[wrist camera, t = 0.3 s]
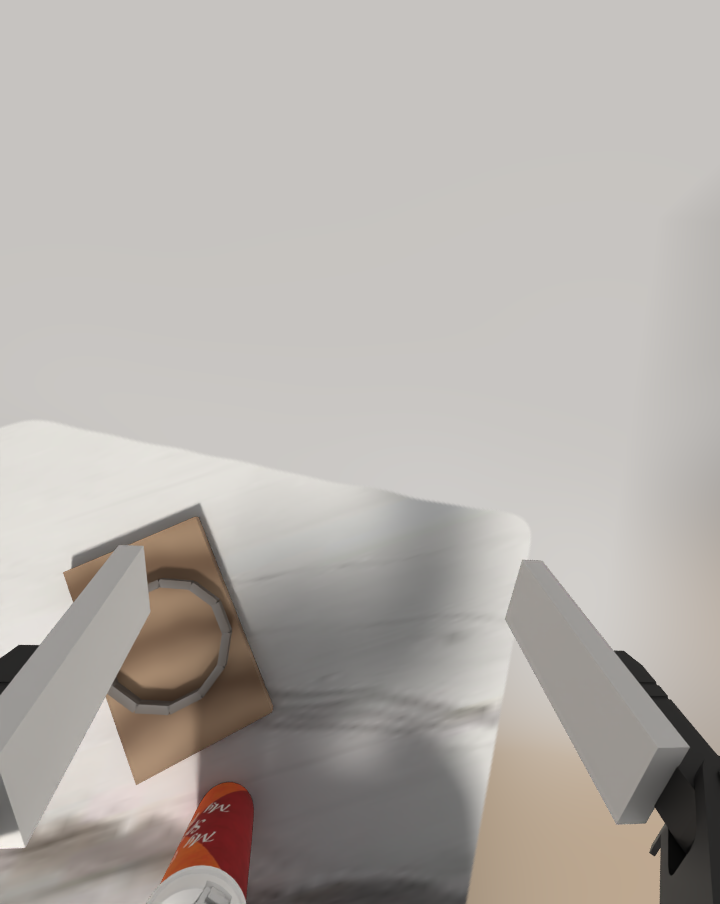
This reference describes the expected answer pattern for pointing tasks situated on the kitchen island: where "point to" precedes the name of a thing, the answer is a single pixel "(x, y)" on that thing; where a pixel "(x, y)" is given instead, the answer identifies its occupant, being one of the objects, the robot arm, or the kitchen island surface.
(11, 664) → the robot arm
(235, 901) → the paper cup
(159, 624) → the seat board
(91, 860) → the kitchen island surface
